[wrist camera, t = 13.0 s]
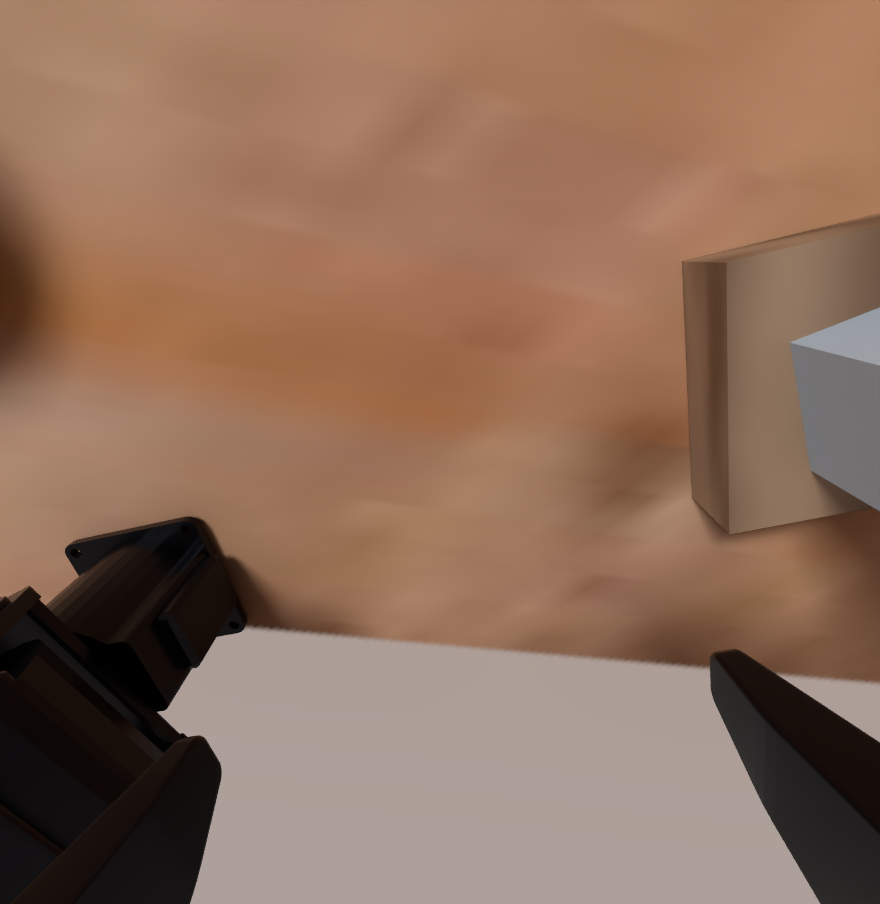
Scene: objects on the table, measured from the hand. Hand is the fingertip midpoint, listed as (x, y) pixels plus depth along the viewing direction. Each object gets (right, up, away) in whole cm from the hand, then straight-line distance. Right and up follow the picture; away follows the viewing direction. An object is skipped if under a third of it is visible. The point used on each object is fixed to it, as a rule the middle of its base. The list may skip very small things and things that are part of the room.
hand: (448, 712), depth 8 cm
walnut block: (+15, +8, +11) cm, 20 cm away
